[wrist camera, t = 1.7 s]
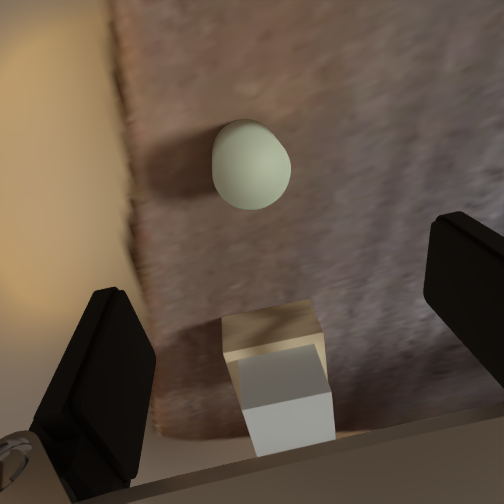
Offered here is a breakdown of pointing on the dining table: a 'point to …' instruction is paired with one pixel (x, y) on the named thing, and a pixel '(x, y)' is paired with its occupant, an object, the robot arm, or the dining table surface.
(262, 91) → the dining table surface
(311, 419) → the tower top
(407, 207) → the dining table surface
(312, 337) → the tower base
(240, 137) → the sage cylinder
